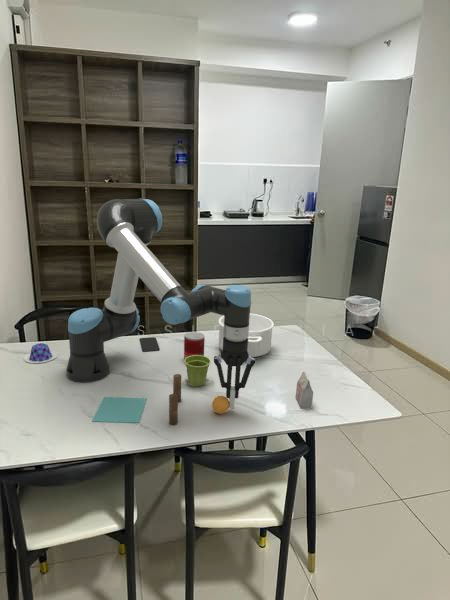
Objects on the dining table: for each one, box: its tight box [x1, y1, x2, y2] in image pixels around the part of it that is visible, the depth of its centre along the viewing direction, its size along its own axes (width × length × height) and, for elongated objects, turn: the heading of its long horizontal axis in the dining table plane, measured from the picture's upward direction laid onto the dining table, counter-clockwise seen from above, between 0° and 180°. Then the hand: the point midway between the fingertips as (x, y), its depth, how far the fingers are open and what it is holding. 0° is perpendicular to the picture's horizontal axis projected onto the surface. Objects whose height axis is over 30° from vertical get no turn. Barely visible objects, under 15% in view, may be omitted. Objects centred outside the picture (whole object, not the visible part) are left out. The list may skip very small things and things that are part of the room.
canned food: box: [183, 331, 206, 361], centre depth 164 cm, size 8×8×11 cm
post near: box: [168, 393, 179, 426], centre depth 122 cm, size 3×3×9 cm
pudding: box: [23, 342, 58, 364], centre depth 162 cm, size 12×12×5 cm
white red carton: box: [295, 371, 314, 410], centre depth 137 cm, size 4×7×10 cm, turn 4°
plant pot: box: [183, 355, 212, 387], centre depth 147 cm, size 9×9×9 cm
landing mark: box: [91, 396, 147, 424], centre depth 129 cm, size 14×14×1 cm
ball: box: [211, 395, 230, 415], centre depth 129 cm, size 6×6×6 cm
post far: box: [172, 373, 182, 404], centre depth 135 cm, size 3×3×9 cm
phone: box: [139, 336, 161, 353], centre depth 179 cm, size 7×1×15 cm
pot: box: [217, 312, 275, 360], centre depth 175 cm, size 33×23×14 cm
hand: (231, 406), depth 130 cm, fingers closed
